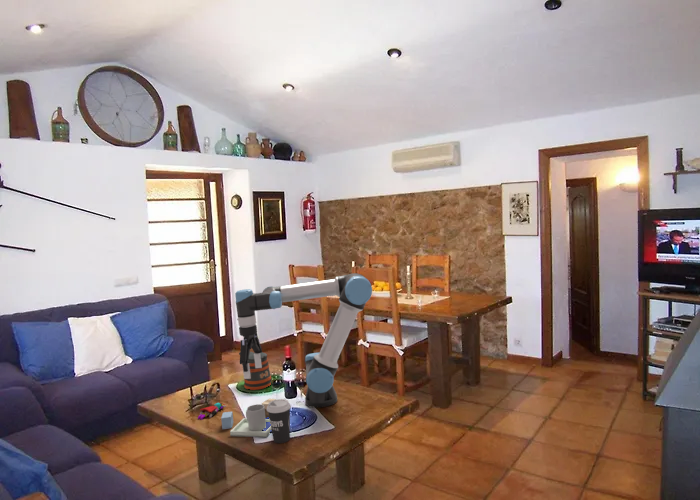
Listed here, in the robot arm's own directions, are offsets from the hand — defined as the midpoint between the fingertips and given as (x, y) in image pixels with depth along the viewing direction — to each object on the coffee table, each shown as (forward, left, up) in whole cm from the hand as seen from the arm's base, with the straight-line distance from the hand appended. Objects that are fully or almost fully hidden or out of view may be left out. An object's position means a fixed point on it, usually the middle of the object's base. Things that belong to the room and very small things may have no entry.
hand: (253, 373), depth 217 cm
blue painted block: (+11, +6, -21) cm, 25 cm away
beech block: (-1, -12, -21) cm, 24 cm away
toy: (+26, -6, -22) cm, 34 cm away
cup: (-3, +9, -21) cm, 23 cm away
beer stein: (+20, -43, -22) cm, 52 cm away
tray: (-3, +9, -21) cm, 23 cm away
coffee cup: (-18, +17, -21) cm, 33 cm away
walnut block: (-3, -3, -21) cm, 22 cm away
